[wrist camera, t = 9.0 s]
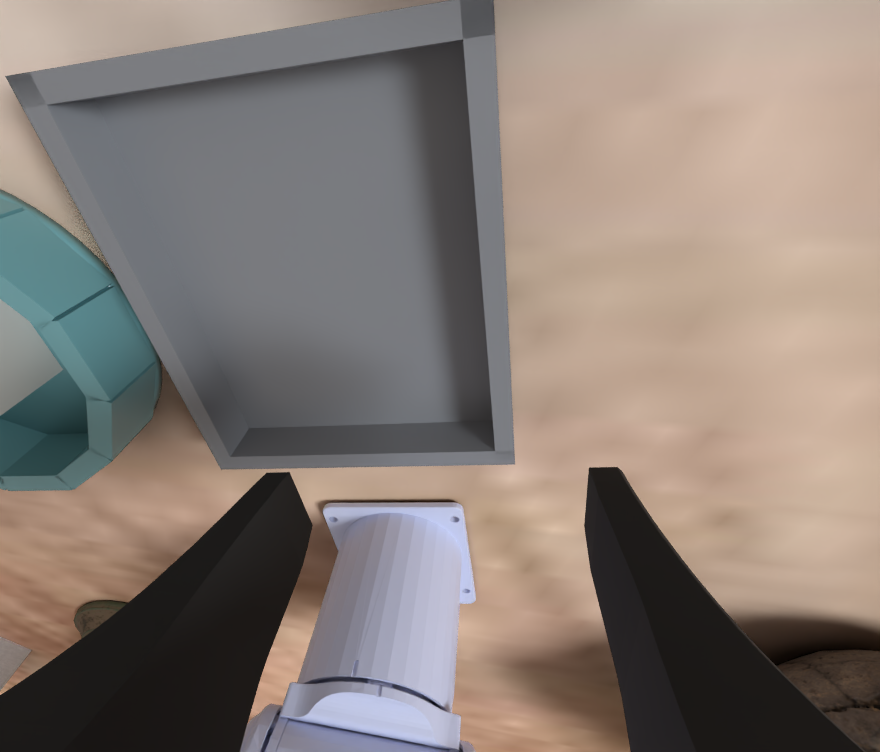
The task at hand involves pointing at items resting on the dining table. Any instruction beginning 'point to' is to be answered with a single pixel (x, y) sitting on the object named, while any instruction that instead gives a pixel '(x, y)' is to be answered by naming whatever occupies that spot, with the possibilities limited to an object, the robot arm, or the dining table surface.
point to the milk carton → (10, 659)
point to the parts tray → (307, 231)
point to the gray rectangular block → (21, 358)
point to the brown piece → (843, 690)
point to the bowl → (71, 357)
